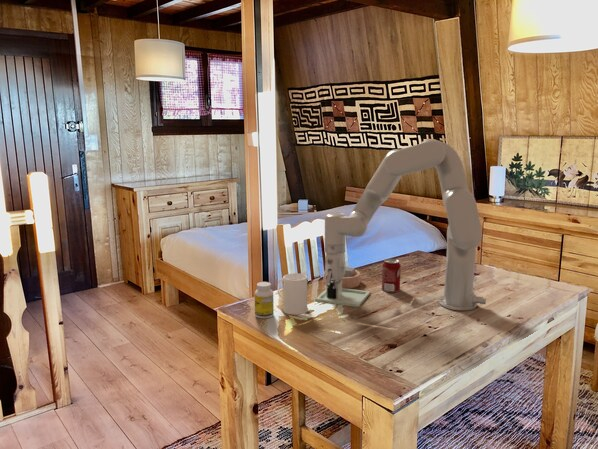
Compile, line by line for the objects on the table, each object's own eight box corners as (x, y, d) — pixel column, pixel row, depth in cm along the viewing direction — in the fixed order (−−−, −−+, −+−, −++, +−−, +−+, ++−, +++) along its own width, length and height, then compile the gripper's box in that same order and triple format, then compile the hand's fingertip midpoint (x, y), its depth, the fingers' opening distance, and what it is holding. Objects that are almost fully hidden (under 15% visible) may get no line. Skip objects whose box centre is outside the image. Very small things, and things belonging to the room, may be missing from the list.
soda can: (394, 295, 184) (395, 264, 182) (378, 291, 188) (379, 261, 186) (402, 290, 190) (404, 260, 187) (386, 286, 194) (387, 257, 191)
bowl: (364, 280, 201) (364, 269, 200) (353, 291, 188) (353, 280, 187) (330, 276, 207) (330, 265, 206) (318, 286, 194) (318, 275, 193)
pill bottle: (253, 313, 167) (252, 281, 165) (271, 311, 169) (270, 280, 166) (256, 320, 161) (256, 287, 159) (275, 318, 163) (275, 285, 161)
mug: (270, 308, 171) (270, 275, 169) (287, 301, 178) (287, 269, 175) (296, 317, 164) (296, 282, 161) (312, 309, 170) (313, 276, 168)
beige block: (341, 294, 183) (342, 280, 182) (338, 298, 179) (338, 284, 178) (330, 293, 185) (330, 279, 184) (326, 296, 181) (326, 282, 180)
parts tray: (370, 294, 185) (370, 291, 184) (358, 308, 171) (358, 305, 171) (329, 289, 191) (329, 286, 191) (315, 302, 177) (315, 298, 177)
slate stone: (355, 281, 198) (355, 268, 196) (351, 284, 194) (351, 271, 193) (344, 280, 200) (344, 266, 198) (340, 283, 196) (340, 269, 194)
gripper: (337, 254, 169) (336, 304, 173) (352, 243, 185) (350, 290, 188) (316, 252, 172) (316, 301, 176) (332, 241, 188) (332, 287, 191)
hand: (334, 295), depth 182 cm, fingers closed on parts tray, 4 cm apart
